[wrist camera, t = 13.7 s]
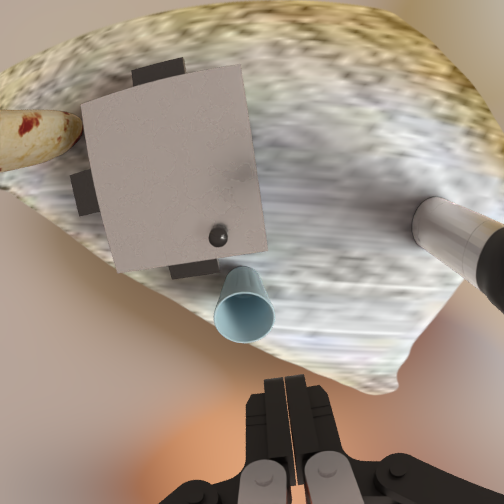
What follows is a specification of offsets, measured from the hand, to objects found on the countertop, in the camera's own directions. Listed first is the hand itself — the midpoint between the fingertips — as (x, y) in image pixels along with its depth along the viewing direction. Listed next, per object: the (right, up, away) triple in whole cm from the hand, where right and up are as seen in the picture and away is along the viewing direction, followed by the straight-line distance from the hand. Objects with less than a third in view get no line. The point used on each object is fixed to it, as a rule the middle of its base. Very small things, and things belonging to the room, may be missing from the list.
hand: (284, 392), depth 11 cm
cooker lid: (-11, +14, +21) cm, 27 cm away
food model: (-29, +23, +28) cm, 47 cm away
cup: (-3, +1, +37) cm, 37 cm away
